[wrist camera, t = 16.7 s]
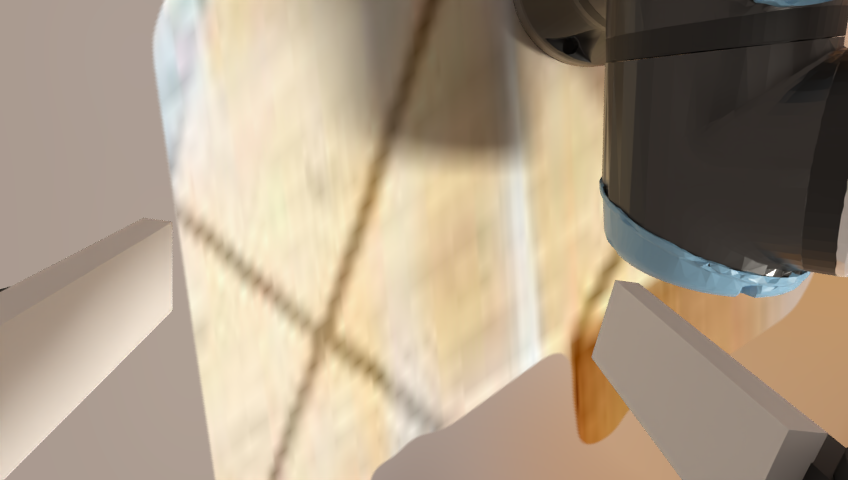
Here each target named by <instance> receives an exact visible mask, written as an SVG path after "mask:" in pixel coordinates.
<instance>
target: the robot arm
mask: <svg viewBox="0 0 848 480" xmlns="http://www.w3.org/2000/svg"><path fill="white" fill-rule="evenodd" d="M513 1H514V5H515V9H516V12H517V15H518V17H519V20H520V22H521V24H522V26H523V28H524V29H525V31H526V33H527V34H528V35H529V37H530V38H531V39H532V41H533V42H534V43H535V44H536V45H537V46H538V47H539V48H540V49H541V50H543V51H544V52H545V53H547V54H548V55H550V56H551V57H553V58H555V59H557V60H559V61H561V62H564V63H567V64H570V65H575V66H583V67H594V66H603V65H605V82H604V123H603V163H602V177H601V179H600V193H601V196H602V198H603V211H604V230H605V234H606V237H607V240H608V242H609V243H610V244H611V245H612V247H613V248H614V249H615V250H616V252H617V254H618V255H619V256H620V257H621V258H623V259H624V260H625V261H626V262H628V263H629V264H631V265H632V266H634V267H635V268H637V269H639V270H640V271H642V272H644V273H646V274H648V275H650V276H652V277H655V278H657V279H660V280H662V281H665V282H668V283H671V284H673V285H676V286H679V287H683V288H687V289H691V290H694V291H698V292H703V293H708V294H714V295H722V296H731V297H735V296H737V295H738V294H739V293H744V294H746V295H749V296H751V297H754V298H757V297H771V296H776V295H781V294H784V293H786V292H789V291H791V290H794V289H795V288H797V287H798V286H799V285H800V284H801V282H802V281H803V280H805V279H806V278H807V277H808V276H809V274H810V272H815V273H822V274H828V275H834V276H841V277H848V48H846V47H845V46H844V40H845V36H844V35H846V28H847V23H848V0H513ZM837 36H844V37H837ZM832 37H834V38H832ZM716 50H717V51H716ZM690 53H691V54H690ZM680 54H682V55H680ZM654 57H656V58H654ZM645 58H647V59H645ZM636 59H638V60H636ZM627 60H630V61H627ZM171 311H172V222H171V221H163V220H155V219H148V218H142V219H140V220H139V221H137V222H135V223H133V224H131V225H129V226H127V227H125V228H123V229H121V230H119V231H117V232H115V233H114V234H112V235H110V236H108V237H106V238H104V239H102V240H100V241H98V242H96V243H94V244H92V245H90V246H88V247H86V248H85V249H82V250H81V251H79V252H77V253H75V254H73V255H71V256H69V257H67V258H65V259H63V260H61V261H59V262H57V263H56V264H53V265H52V266H50V267H48V268H46V269H44V270H42V271H40V272H38V273H36V274H34V275H32V276H30V277H28V278H27V279H24V280H23V281H21V282H19V283H17V284H15V285H13V286H11V287H7V288H3V289H0V480H4V479H5V478H6V477H7V476H8V475H9V474H10V473H11V472H12V471H13V470H14V469H15V468H16V467H17V466H18V465H19V464H20V463H21V462H22V461H23V460H24V459H25V458H26V457H27V456H28V455H29V454H30V453H31V452H32V451H33V450H34V449H35V448H36V447H37V446H38V445H39V444H40V443H41V442H42V441H43V440H44V439H45V438H46V437H47V436H48V435H49V434H50V433H51V432H52V431H53V430H54V429H55V428H56V427H57V426H58V425H59V424H60V423H61V422H62V421H63V420H64V419H65V418H66V417H67V416H68V415H69V414H70V413H71V412H72V411H73V410H74V409H75V408H76V407H77V406H78V405H79V404H80V403H81V402H82V401H83V400H84V399H85V398H86V397H87V396H88V395H89V394H90V393H91V392H92V391H93V390H94V389H95V388H96V387H97V386H98V385H99V383H101V382H102V381H103V380H104V379H105V378H106V376H108V375H109V374H110V373H111V372H112V371H113V370H114V369H115V368H116V367H117V365H118V364H120V362H122V361H123V360H124V358H126V357H127V356H128V355H129V354H130V353H131V351H133V349H134V348H136V347H137V346H138V344H140V343H141V342H142V340H144V339H145V338H146V336H148V334H149V333H150V332H151V331H152V330H153V329H154V328H155V327H156V326H157V325H158V324H159V323H160V322H161V321H162V320H163V319H164V318H165V317H166V316H167V315H168V314H169V313H170V312H171ZM592 359H593V360H594V361H595V363H596V364H597V365H598V367H599V368H600V369H601V371H602V372H603V374H604V375H605V376H606V378H607V379H608V380H609V382H610V383H611V384H612V386H613V387H614V388H615V390H616V391H617V392H618V394H619V395H620V397H621V398H622V399H623V401H624V402H625V403H626V405H627V406H628V407H629V409H630V410H631V411H632V413H633V414H634V416H635V417H636V418H637V419H638V421H639V422H640V423H641V425H642V426H643V427H644V429H645V430H646V432H647V433H648V434H649V436H650V437H651V438H652V440H653V441H654V443H655V444H656V445H657V447H658V448H659V449H660V451H661V452H662V453H663V455H664V456H665V457H666V459H667V460H668V461H669V463H670V464H671V466H672V467H673V468H674V470H675V471H676V472H677V474H678V475H679V476H680V478H681V479H682V480H848V448H845V447H844V446H843V445H841V444H840V443H839V442H837V441H836V440H835V439H834V438H832V437H831V436H830V435H829V434H828V433H827V432H826V431H824V430H823V429H822V428H821V427H819V426H818V425H817V424H815V423H814V422H813V421H812V420H810V419H809V418H808V417H807V416H806V415H804V414H803V413H802V412H800V411H799V410H798V409H797V408H795V407H794V406H793V405H791V404H790V403H789V402H788V401H787V400H785V399H784V398H783V397H781V396H780V395H779V394H778V393H776V392H775V391H774V390H773V389H771V388H770V387H769V386H767V385H766V384H765V383H764V382H762V381H761V380H760V379H759V378H758V377H756V376H755V375H754V374H752V373H751V372H750V371H749V370H747V369H746V368H745V367H744V366H742V365H741V364H740V363H739V362H737V361H736V360H735V359H734V358H732V357H731V356H730V355H729V354H727V353H726V352H725V351H723V350H722V349H721V348H720V347H718V346H717V345H716V344H715V343H713V342H712V341H711V340H710V339H708V338H707V337H706V336H705V335H703V334H702V333H701V332H699V331H698V330H697V329H696V328H694V327H693V326H692V325H691V324H689V323H688V322H687V321H686V320H684V319H683V318H682V317H681V316H679V315H678V314H677V313H675V312H674V311H673V310H672V309H670V308H669V307H668V306H667V305H665V304H664V303H663V302H662V301H660V300H659V299H658V298H657V297H655V296H654V295H653V294H652V293H650V292H649V291H648V290H646V289H645V288H644V287H643V286H641V285H640V284H639V283H633V282H626V281H618V280H615V283H614V286H613V290H612V293H611V296H610V299H609V303H608V306H607V309H606V312H605V315H604V319H603V322H602V325H601V328H600V332H599V335H598V338H597V341H596V345H595V348H594V351H593V354H592Z"/></svg>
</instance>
